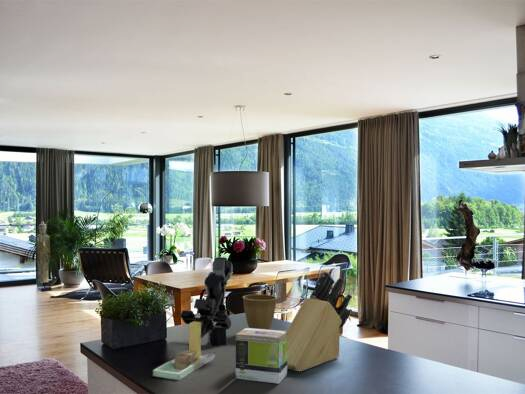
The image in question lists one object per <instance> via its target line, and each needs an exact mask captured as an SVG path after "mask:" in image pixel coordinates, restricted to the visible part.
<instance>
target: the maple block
mask: <svg viewBox="0 0 525 394" xmlns="http://www.w3.org/2000/svg"><path fill="white" fill-rule="evenodd" d="M181 353H182V354H189V355H191V363H193V362H195V361H196V360H197V351H189V349H188V350H186V349H185V351H183V352H181Z"/></svg>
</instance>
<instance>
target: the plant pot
mask: <svg viewBox="0 0 525 394" xmlns="http://www.w3.org/2000/svg"><path fill="white" fill-rule="evenodd" d="M242 300H243V302H242V303H243V309H244V314H245V320H246V323H247V326H248V327H247V328H255V329H268V330H271V326H272V323H273V319H274V315H275V312H276V307H277V301H278V297H277V296H275V295H270V294H246V295H243V296H242Z"/></svg>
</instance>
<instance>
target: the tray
mask: <svg viewBox="0 0 525 394" xmlns="http://www.w3.org/2000/svg"><path fill="white" fill-rule="evenodd" d="M193 372H194V365H191V366H189V367H187V368H186V369H184V370H180V369H175V368H173V367H171V362H170V361H167V362H165V363H163V364H161V365H159V366H157V367H156V368H154V369H152V377H157V378H163V379H168V380H169V379H170V380H177V381H179V380H182V379H183V378H185V377H186V376H188V375H189V374H191V373H193Z"/></svg>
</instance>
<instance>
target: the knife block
mask: <svg viewBox="0 0 525 394" xmlns="http://www.w3.org/2000/svg"><path fill="white" fill-rule="evenodd" d="M343 283H344V280H343V279H342V278H337V280H336V281H335V280H334V279H333V277H332V276H331V274H330V273H329V272H328V271H325V272H324V273H323V274H321V276H320V278H319V279H318V281H317V282H316V284H315V286H314V288H313V291H312V292H311V294H310V296H309V297H305V298H304V300H303V302H302V303H301V305H300V307H299V309H298V310H297V312H296V314H295V316H294V318H293V319H292V321H291V323H290V324H289V326H288V329H286V331H287V369H289V370H292V371H295V372H298V371H299V372H298V373H300V371H301V372H302V371H306V370H309V369H311V368H314V367H316V366H319V365H321V364H323V363H326V362H329V361H332V360H336V359H338V358H339V357H340V339H341V338H340V336H341V335H340V334H341V333H340V332H341V330H342V329H343V327H344V326H345V324H346V322H347V321H348V319H349V317H350V315H351V314H352V309H349V308H347V307H348V306H349V304H350V301H351V299H352V298H353V296H352V294H350V293H349V294H346V296H344V294H338V293H339V292H340V290H341V288H342V286H343ZM340 298H342V301H341V302H340V303H341V304H340V305H338V306H337V304H338V302H339V299H340ZM335 358H336V359H335Z"/></svg>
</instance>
